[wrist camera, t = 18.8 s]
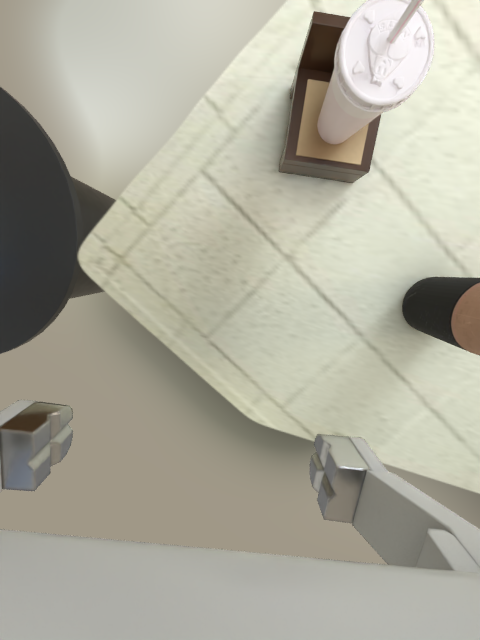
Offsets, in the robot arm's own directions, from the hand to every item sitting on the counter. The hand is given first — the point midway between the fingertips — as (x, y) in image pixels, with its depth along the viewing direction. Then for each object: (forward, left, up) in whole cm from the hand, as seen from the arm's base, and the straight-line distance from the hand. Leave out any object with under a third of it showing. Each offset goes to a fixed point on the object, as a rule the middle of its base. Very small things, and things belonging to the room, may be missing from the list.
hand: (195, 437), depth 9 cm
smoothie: (+9, +21, -23) cm, 32 cm away
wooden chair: (+9, +21, -27) cm, 35 cm away
